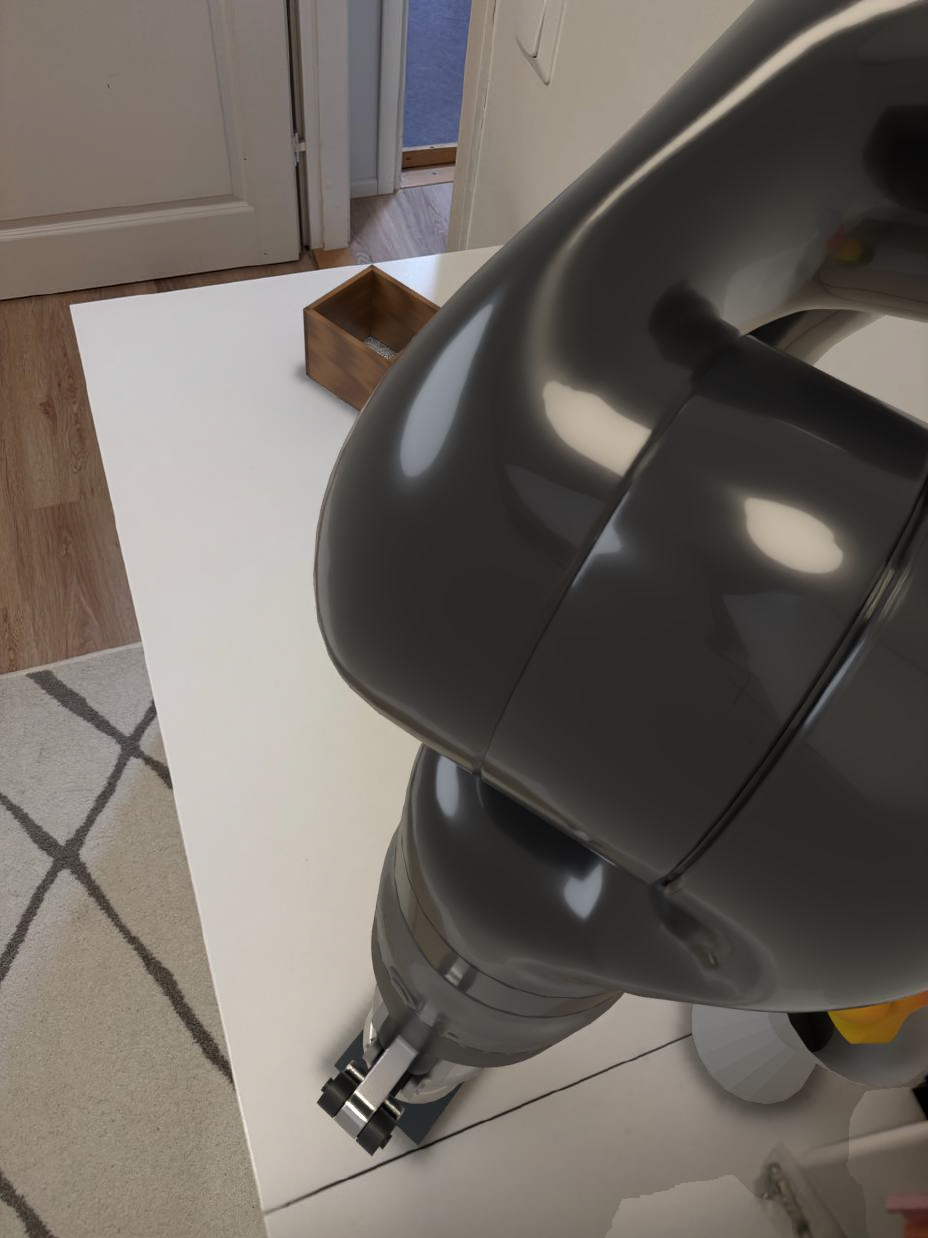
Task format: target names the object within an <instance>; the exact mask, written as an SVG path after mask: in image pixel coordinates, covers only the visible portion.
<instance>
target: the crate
mask: <svg viewBox="0 0 928 1238" xmlns="http://www.w3.org/2000/svg"><path fill="white" fill-rule="evenodd" d="M441 307H442V306H439V305H437V304H436V303H434V302H433V301H431V300H430V299H428V298H427V297H425V296H423V295H422V294H420V293H419V292H417V291H416V290H414V289H412V288H410V287H409V286H408V285H406V284H404V283H403V282H402V281H399V280H398V279H396V278H395V277H394V276H392V275H390V274H388V273H387V272H385V270H382V269H381V268H379V267H378V266H376V265H374V264H373V263H372V264H370V265H369V266H367V267H365V268H364V269H363V270H361V271H359V272H358V273H356V274H354V275H353V276H351V277H350V278H349V279H347V280H345V281H344V282H342V283H341V284H339V285H337V286H336V287H334V288H333V289H332V290H329V292H326V293H325V294H324V295H322V296H320V297H319V298H317V299H316V300H314V301H313V302H311V303H309V304H308V305H306V306H305V307H303V308H302V320H303V337H304V338H303V339H304V340H303V343H304V344H303V345H304V361H305V362H304V363H305V375H306V376H308V377H309V378H310V379H312V380H314V381H315V382H316V383H318V384H319V385H320V386H322V387H323V388H325V389H327V390H328V391H329V392H331V393H332V394H334V395H335V396H336V397H338V398H339V399H341V400H342V401H343V402H345V403H346V404H348V405H349V406H351V407H352V408H354V409H355V410H357V411H358V412H360V411H361V409H362V408H363V406H364V405H365V403H366V402H367V400H368V398H369V397H370V395H371V394H372V392H373V391H374V389H375V388H376V386H377V385H378V384H379V382H380V381H381V379H382V378H383V376H384V375H385V374H386V372H387V371H388V369H389V368H390V367H391V365H392V364H393V363H394V361H395V360H396V359H397V357H398V356H399V355H400V354H401V352H402V351H403V350H404V348H405V347H406V346H407V345H408V343H409V342H410V341H411V339H412V338H413V337H414V336H415V335H416V334H417V333H418V332H419V331H420V330H421V329H422V327H423V326H424V325H425V324H426V323H427V322H428V321H429V320H430V319H431V318H432V317H433V316H434V315H435V314H436V312H437V311H438V310H439V309H440V308H441ZM370 336H371V337H373V338H374V339H376V340H377V341H379V342H380V343H382V344H383V345H385V346H386V347H388V348H390V349H391V350H393V351H395V352H396V353H395V354H394V355H393V356H391V357H390V358H389V359H388V358H386V357H385V356H383V354H380V353H379V352H378V351H376V350H374V349H373V348H371V347H369V346H368V345H366V344H365V343H363V342H362V341H364V340H365V339H367V338H368V337H370Z"/></svg>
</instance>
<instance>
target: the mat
mask: <svg viewBox="0 0 928 1238" xmlns="http://www.w3.org/2000/svg"><path fill="white" fill-rule="evenodd" d="M363 1034H364V1028H363V1029H362V1030H361V1031H360V1032H359V1033H358V1035H357V1036H356V1037H355V1038H354V1040H353V1041H352V1042H351V1043H350V1045H349V1046H348V1048H346V1050H345V1051H344V1052H343V1053H342V1055H340V1057H339V1059H338V1060H337V1061H336V1062H335V1063H334V1067H335V1068H336V1069H337V1070H338V1071H339V1073H340V1072H341V1071H344V1070H345V1068H346V1067H347V1065H348V1064H349V1063H350V1062H351V1061H352V1060H354V1061H355V1062H356V1063H357V1064H359V1065H360V1066H361V1067H362V1068H363V1069H364V1070H365V1071H367V1070H368V1066H367V1063H366V1061H365V1060H364V1059H363V1058H362V1056H363V1055H364V1048H363ZM464 1083H465V1081H464V1082H462V1083H459V1084H458V1085H457V1086H456V1087H455V1088H454V1089H453V1090H452V1091H451V1092H449V1093H448V1094H447V1095H445V1096H444V1097H442V1098H440V1099H437V1100H435V1101H432V1102H428V1103H424V1104H412V1103H408V1102H403V1101H400V1100H398V1099H396V1098H395V1099H396V1100H397V1101H398V1102H399V1103H400V1104H401V1105H402V1106H403V1107H404V1108H405V1111H404V1112H403V1114H402V1115H401V1116H400V1118H399V1119H398V1120H397V1122H396V1127H398V1129H399V1130H401V1132H402V1133H403V1134H405V1135H406V1137H408V1138H409V1139H410V1141H412V1142H413V1143H414V1144H415V1145H416V1146H419V1145H420V1144H421V1143H422V1142H423V1140H424V1139H425V1137H426V1136H427V1134H428V1133H429V1132H430V1131H431V1129H432V1128H433V1126H434V1125H435V1124H436V1122H437V1121H438V1119H439V1118H440V1116H442V1113H443V1112H444V1111H445V1109H446V1108H447V1106H448V1105H449V1104H450V1103H451V1101H452V1099H453V1098H454V1097H455V1095H456V1094H457V1092H459V1090H460V1088H461V1087H462V1085H463V1084H464Z"/></svg>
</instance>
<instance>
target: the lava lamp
mask: <svg viewBox="0 0 928 1238" xmlns="http://www.w3.org/2000/svg"><path fill="white" fill-rule="evenodd" d="M691 1036H692V1039H693V1042H694V1046H695V1049H696V1052H697V1055H698V1057H699V1059H700V1061H701V1062H702V1064H703V1066H704V1067H705V1069H706V1070H707V1073H709V1075H710V1077H712V1078H713V1080H715V1082H716V1083H718V1084H719V1085H720V1086H721V1087H722V1088H723V1089H724V1090H725V1091H726V1092H727V1093H730V1094H732V1095H734V1096H736V1097H738V1098H739V1099H742V1100H743V1101H745V1102H748V1103H749V1102H750V1103H756V1104H762V1105H770V1104H774V1103H780V1102H784V1101H787V1100H788V1099H789V1098H791V1097H792V1096H793V1095H795V1094H796V1093H798V1092H799V1091H800V1090H801V1089H802V1088H803V1086H804V1085H805V1083H806V1082H807V1080H808V1078H809V1077H810V1075H811V1074H812V1072H813V1070H814V1069H815V1067H816V1065H819V1066H820V1067H821V1068H823V1069H825V1070H827V1071H829V1072H831V1073H833V1074H835V1075H837V1076H838V1077H840V1078H843V1079H845V1080H846V1081H849V1082H850V1083H852V1084H857V1085H864V1086H870V1087H877V1088H887V1087H892V1086H897V1085H901V1084H905V1083H908V1082H910V1081H911V1080H913V1079H914V1078H915V1077H917V1076H918V1075H919V1074H921V1073H922V1072H923V1071H924V1070H925V1069H927V1068H928V990H927V991H925V992H922V993H919V994H917V995H913V996H910V997H907V998H903V999H900V1000H896V1001H893V1002H889V1003H884V1004H879V1005H875V1006H870V1007H865V1008H857V1009H848V1010H840V1011H826V1012H806V1013H771V1012H755V1011H746V1010H737V1009H729V1008H721V1007H714V1006H706V1005H699V1004H692V1008H691Z"/></svg>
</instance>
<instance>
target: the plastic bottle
mask: <svg viewBox="0 0 928 1238" xmlns="http://www.w3.org/2000/svg"><path fill="white" fill-rule="evenodd" d="M382 1002H383V999H382V996H381V994H380V991H379V988H378V985H377V982H376V983H375V988H374V992H373V997H372V1006H370V1009H369V1012H368V1014H367V1016H366V1019H365V1023H364V1027H363V1029H364V1034H363V1048H364V1053H365V1052H366V1050H367V1048H366V1047H365V1046H366V1045H367V1043H368V1042H369V1041H370V1039H371V1038H372V1037H373V1036H374V1037H376V1031H375V1029H374V1028H373V1026H372V1022H371V1020H372V1017H373V1016H374V1014H375V1013H376V1011H377V1009H378V1008H379V1006H380V1005H381V1003H382ZM366 1063H367V1062H366ZM372 1064H373V1063H372ZM367 1066H368V1069H369V1068H370V1066H371V1065H370V1064H368V1063H367ZM484 1069H485V1068H480V1067H471V1066H465V1065H460V1064H455V1066H454V1067H453V1068H452V1069H451V1071H450V1072H449V1073H448V1074H447V1076H446V1077H445V1078H444V1079H443V1081H442V1082H441V1083H434V1082H431V1081H429V1080H425V1081H424V1082H423V1083H425V1084H426V1085H425V1086H424V1088H423V1089H422V1091H421V1092H420V1093H419V1095H418V1096H417V1095H416V1094H414V1095H413V1096H412V1098H411V1099H410V1100H409V1101H408V1100H407V1099H406V1098H405V1097H404V1096H403V1095H402V1094H401V1093H400V1092H401V1090H400V1091H399V1092H398V1094H397V1095H396V1096H395V1098H396V1099H398V1100H400V1101H403V1102H408V1103H412V1104H424V1103H428V1102H432V1101H435V1100H437V1099H440V1098H442V1097H444V1096H445V1095H447V1094H448V1093H449V1092H451V1091H452V1090H453V1089H454V1088H455V1087H456V1086H457V1085H458V1084H459V1083H462V1082H464V1083H465V1082H466V1081H467V1080H470V1079H472V1078H475V1076H477V1075H478V1074H479V1073H480V1072H482V1071H483V1070H484Z"/></svg>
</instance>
